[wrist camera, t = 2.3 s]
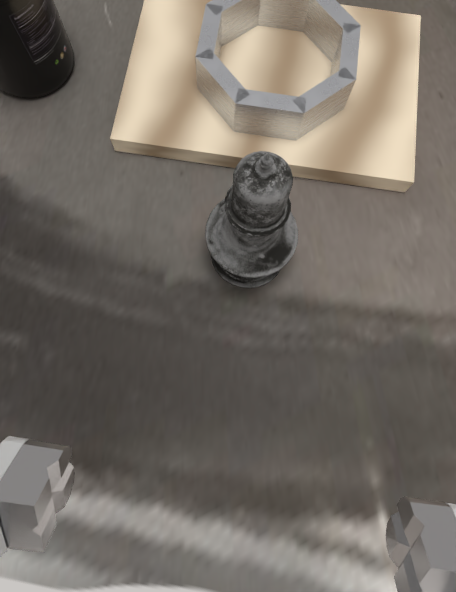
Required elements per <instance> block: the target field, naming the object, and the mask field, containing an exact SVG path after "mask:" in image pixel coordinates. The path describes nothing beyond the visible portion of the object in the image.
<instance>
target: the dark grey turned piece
mask: <svg viewBox="0 0 456 592" xmlns="http://www.w3.org/2000/svg"><path fill="white" fill-rule="evenodd" d="M292 185H293V176H292V172H291V168H290V167H289V165H288V163H287V162H286V161H285V160H284V159H283V158H282V157H280V156H278V155H277V154H274V153H271V152H267V151H258V152H253V153H251V154H248V155H246V156H245V157H244V158H242V159H241V160H240V162H239V163H238V164H237V166H236V168H235V171H234V174H233V185H232V186H231V188H230V189H229V190H228V192H227V194H226V197H225V199H223V200H222V201H221V202H220V203H218V204H217V205H216V207H215V208H214V209H213V211H212V212H211V213H210V216H209V218H208V221H207V224H206V233H205V237H206V242H207V247H208V249H209V251H210V253H211V258H212V262H213V265H214V267H215V269H216V271H217V272H218V274H219V275H220V276H221V277H222V278H223V279H224V280H226V281H227V282H229V283H230V284H232V285H235V286H238V287H242V288H254V287H259V286H262V285H264V284H266V283H268V282H270V281H271V280H272V279H273V278H274V277H276V276H277V274H278V273H279V271H280V270H281V268H282V267H283V266H285V265H286V264H287V263H288V262H289V260H290V259H291V257H292V256H293V254H294V252H295V249H296V246H297V242H298V229H297V225H296V221H295V218H294V217H293V215H292V213H291V203H290V199H289V194H290V191H291V188H292Z"/></svg>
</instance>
